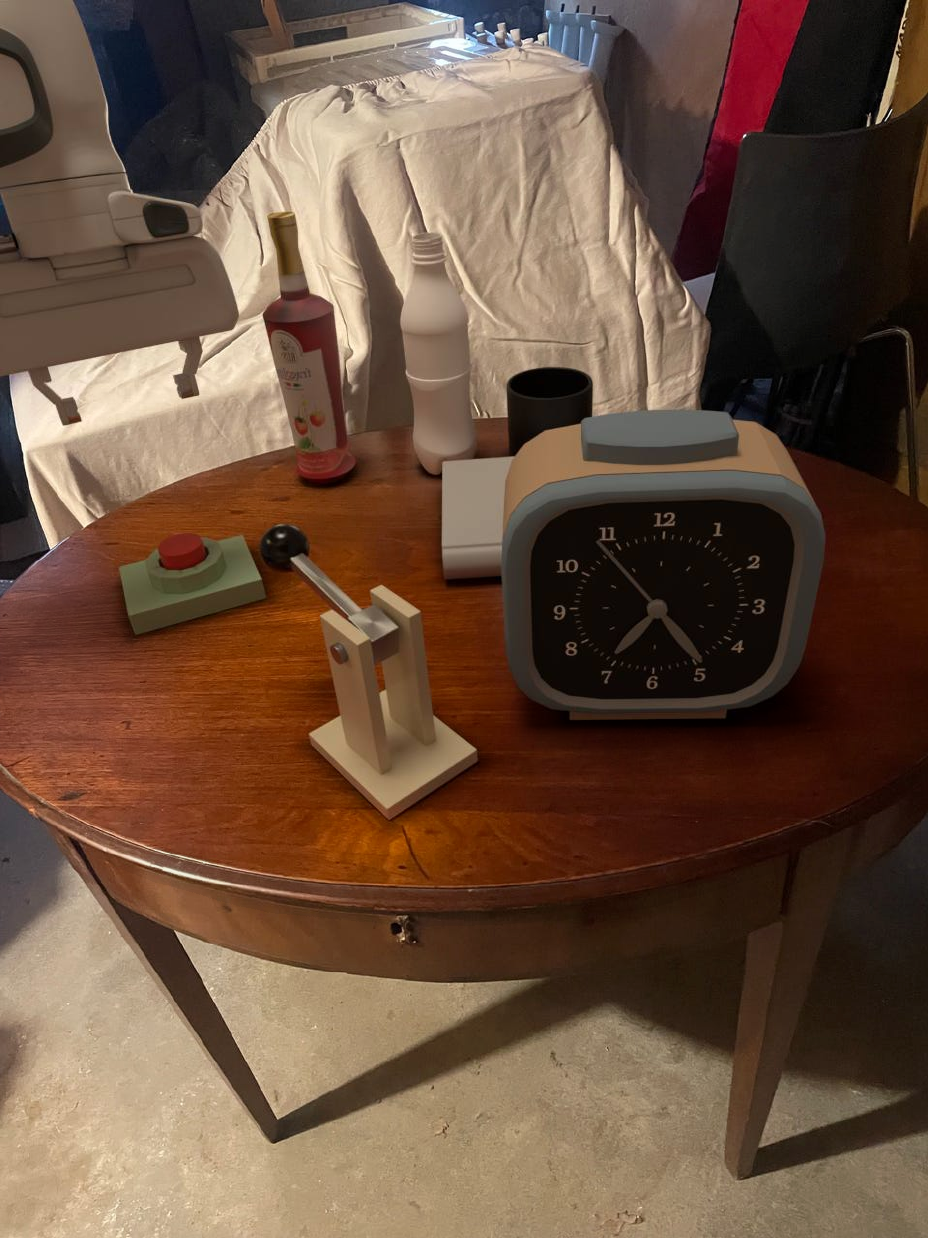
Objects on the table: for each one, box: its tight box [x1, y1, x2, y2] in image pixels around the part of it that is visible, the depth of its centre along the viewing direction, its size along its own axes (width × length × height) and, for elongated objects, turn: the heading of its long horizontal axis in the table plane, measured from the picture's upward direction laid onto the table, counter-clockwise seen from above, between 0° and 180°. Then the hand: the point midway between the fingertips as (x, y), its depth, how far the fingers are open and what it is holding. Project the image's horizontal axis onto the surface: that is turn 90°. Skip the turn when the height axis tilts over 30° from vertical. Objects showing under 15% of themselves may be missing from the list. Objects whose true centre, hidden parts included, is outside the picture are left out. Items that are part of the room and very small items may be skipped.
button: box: [157, 532, 206, 570], centre depth 81 cm, size 4×4×2 cm
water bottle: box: [399, 232, 478, 476], centre depth 94 cm, size 7×7×25 cm
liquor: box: [262, 211, 356, 485], centre depth 93 cm, size 7×7×28 cm
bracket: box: [308, 584, 479, 821], centre depth 61 cm, size 10×8×13 cm
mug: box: [505, 366, 594, 457], centre depth 99 cm, size 9×12×9 cm
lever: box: [258, 523, 399, 666], centre depth 61 cm, size 14×4×4 cm, turn 40°
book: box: [441, 456, 515, 580], centre depth 87 cm, size 18×4×24 cm
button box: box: [118, 534, 267, 636], centre depth 82 cm, size 12×9×4 cm
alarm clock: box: [501, 409, 827, 721], centre depth 62 cm, size 21×10×22 cm, turn 87°
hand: (132, 409), depth 71 cm, fingers open, 8 cm apart
